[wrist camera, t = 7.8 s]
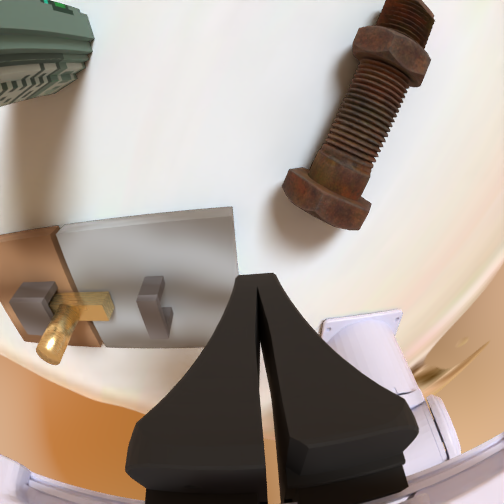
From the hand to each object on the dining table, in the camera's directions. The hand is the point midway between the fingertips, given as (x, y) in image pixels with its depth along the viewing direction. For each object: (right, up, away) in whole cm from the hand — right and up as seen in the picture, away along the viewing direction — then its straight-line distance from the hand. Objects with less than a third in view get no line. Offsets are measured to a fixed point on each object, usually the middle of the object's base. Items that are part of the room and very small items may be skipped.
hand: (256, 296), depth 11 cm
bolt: (+7, +12, +6) cm, 15 cm away
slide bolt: (-16, -2, +11) cm, 19 cm away
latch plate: (-13, -1, +12) cm, 18 cm away
